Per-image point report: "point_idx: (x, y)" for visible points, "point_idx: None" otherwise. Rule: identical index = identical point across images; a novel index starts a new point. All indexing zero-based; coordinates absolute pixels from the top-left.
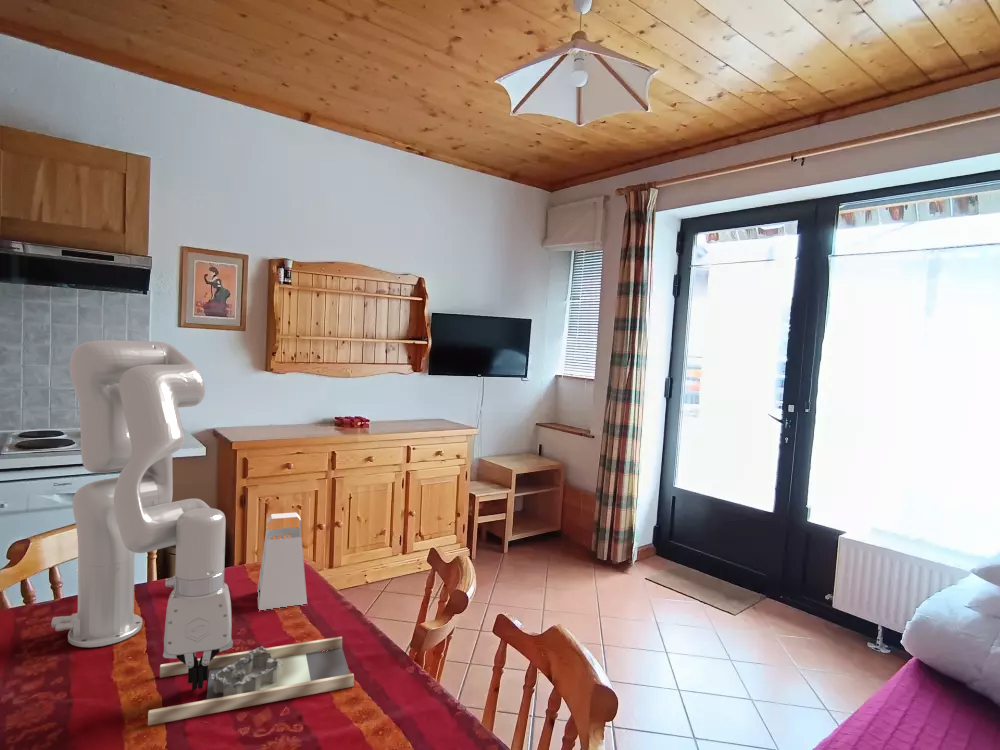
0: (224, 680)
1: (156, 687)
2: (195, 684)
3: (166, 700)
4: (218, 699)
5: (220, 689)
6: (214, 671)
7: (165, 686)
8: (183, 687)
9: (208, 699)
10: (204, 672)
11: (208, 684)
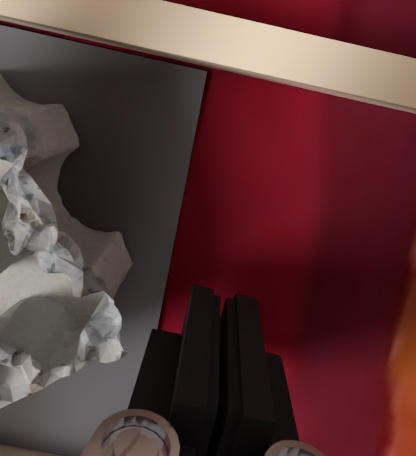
0: (12, 188)
1: (390, 448)
2: (237, 313)
3: (380, 316)
4: (99, 6)
5: (86, 237)
6: None
7: (350, 436)
8: None
9: (168, 195)
10: (163, 373)
11: None
